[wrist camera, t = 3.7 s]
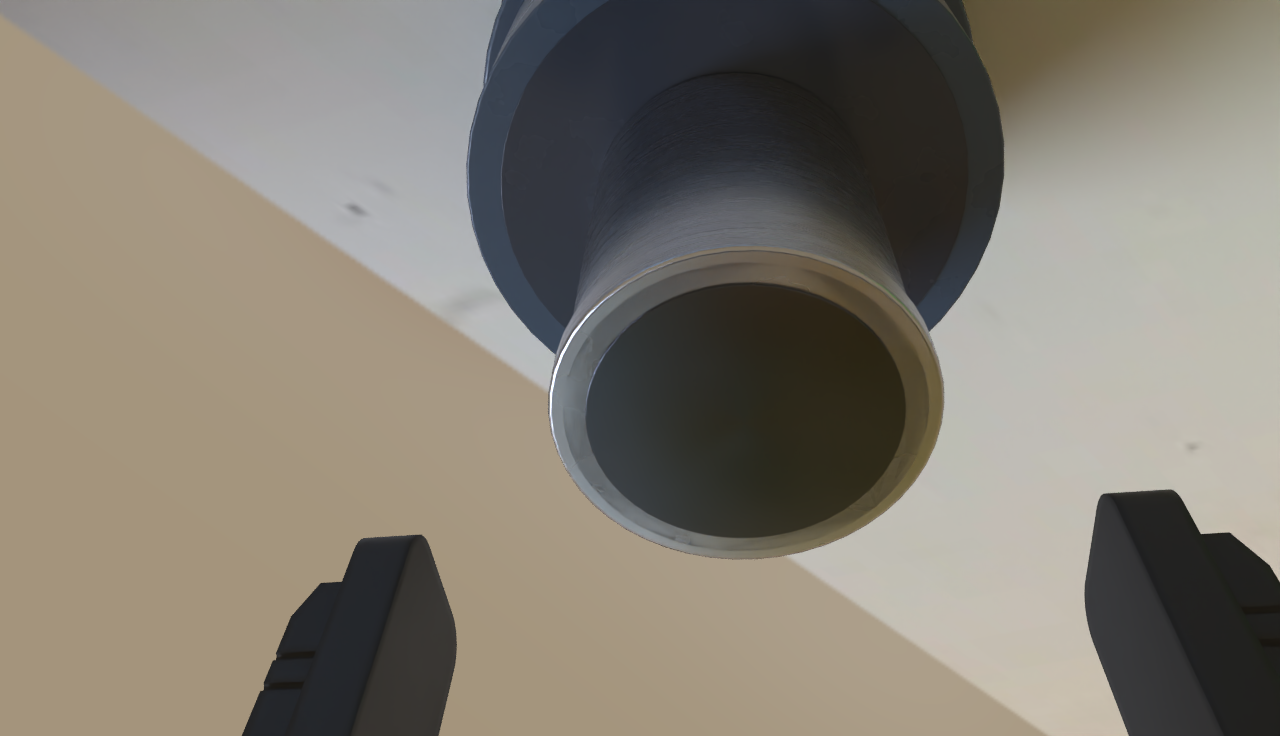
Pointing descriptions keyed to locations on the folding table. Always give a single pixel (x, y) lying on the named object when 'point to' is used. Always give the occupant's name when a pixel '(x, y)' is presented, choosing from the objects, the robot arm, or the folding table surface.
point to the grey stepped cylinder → (730, 43)
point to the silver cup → (741, 330)
